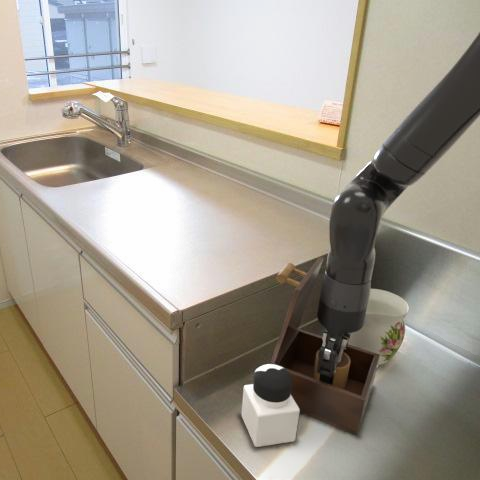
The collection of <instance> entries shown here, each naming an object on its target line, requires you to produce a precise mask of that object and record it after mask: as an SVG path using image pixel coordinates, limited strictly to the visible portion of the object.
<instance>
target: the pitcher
mask: <svg viewBox="0 0 480 480" xmlns="http://www.w3.org/2000/svg"><path fill="white" fill-rule="evenodd" d="M409 310H410V306H409V304H408V301H406V300H405V299H404V298H403V297H401V296H400V295H397V294H395V293H393V292H390V291H388V290H385V289H384V290H383V289H379V288H371V289H370V296H369V300H368V305H367V310H366V315H365V320H364V325H363V327H362V328H361V329H360V330H359V331H356V332H353V333H351V336H350V339H349V343H348V345H351V346H355V347H358V348H361V349H364V350H367V351H370V352H373V353H377V354H380V357H379V361H378V366H382V365H384V364H386V363H387V362H389V361H390V360H392V359H393V358H394V357H395V355H396V354H397V353H398V351H399V350H400V348H401V346H402V344H403V341H404V339H405V335H406V321H405V318H406V316H407V314H408V313H409Z"/></svg>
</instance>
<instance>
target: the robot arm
mask: <svg viewBox="0 0 480 480" xmlns="http://www.w3.org/2000/svg"><path fill="white" fill-rule="evenodd" d="M479 117H480V31H479V32H478V34H477V35H476V36H475V38H474V39H473V40H472V42H471V43H470V45H469V46H468V47H467V48H466V50H465V51H464V52H463V54H462V55H461V56H460V57H459V58H458V60H457V61H456V63H454V65H452V66H451V68H450V69H449V71H448V72H447V73H446V74H445V75H444V76H443V78H441V80H439V81H438V83H437V84H436V85H435V86H434V87H433V88H432V89H431V90H430V91H429V92H428V93H427V95H425V97H424V98H422V100H421V101H420V102H419V103H418V104H417V105H416V106H415V107H414V108H413V109H412V110H411V111H410V112H409V113H408V114H407V115H406V116H405V118H404V119H403V120H402V121H401V122H400V123H399V125H398V126H397V127H396V128H395V129H394V130H393V131H392V132H391V133H390V135H389V136H388V137H387V138H386V139H385V140H384V142H383V143H382V144H381V145H380V147H378V148H377V151H376V152H375V154H374V156H373V157H372V159H371V160H370V161H369V162H368V163H367V164H366V165H365V166H364V167H363V168H362V169H361V170H360V171H359V172H358V173H357V174H356V175H355V176H354V177H353V178H352V180H351V181H349V183H348V184H347V185H346V186H345V187H344V188H343V189H342V190H341V192H339V194H338V195H336V196H335V198H334V200H333V202H332V205H331V209H330V214H329V220H328V221H329V222H328V238H329V241H328V242H329V249H328V253H327V257H326V265H325V270H324V271H325V272H324V274H323V277H322V280H321V286H320V293H319V300H318V307H317V313H316V317H317V320H318V322H319V323H320V324H321V325H322V326H323V327H324V328H325V329H326V330H324V331H323V333H322V336H323V338H322V340H323V344H322V346H321V348H320V349H319V351H320V352H319V360H318V368H317V373H319V374H320V378H319V381H322V382H325V383H327V384H330V385H332V384H333V379H334V374H335V373H336V367H337V363H339V362H340V361H341V360H342V356H343V352H344V351H345V350H346V347H347V346H348V343H349V339H350V336H351V333H353V332H356V331H359V330H360V329H361V328H362V327H363V325H364V320H365V315H366V310H367V305H368V300H369V296H370V289H372V287H371V284H372V277H373V271H374V266H375V262H376V249H375V244H376V239H377V234H378V232H379V231H378V230H379V227H380V223H381V220H382V218H383V217H384V214H385V213H386V212H387V211H388V209H389V208H391V206H392V205H393V203H394V202H395V201H396V200H397V199H398V198H399V197H400V196H401V195H402V194H403V193H404V192H405V191H406V190H407V188H408V187H411V186H413V185H414V184H415V183H417V182H418V181H419V180H420V179H422V178H423V177H424V176H425V175H426V174H427V173H428V172H429V171H430V170H431V169H432V168H433V167H434V166H435V165H436V164H437V163H438V162H439V161H440V160H441V159H442V158H443V157H444V156H445V155H446V154H447V153H448V152H449V150H451V148H453V147H454V146H455V144H456V143H457V142H458V141H459V140H460V139H461V137H462V136H464V134H465V133H466V132H467V131H468V130H469V129H470V128H471V126H472V125H473V124H474V123H475V122H476V121H477V120H478V119H479ZM337 353H339V355H338V356H337Z"/></svg>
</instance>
